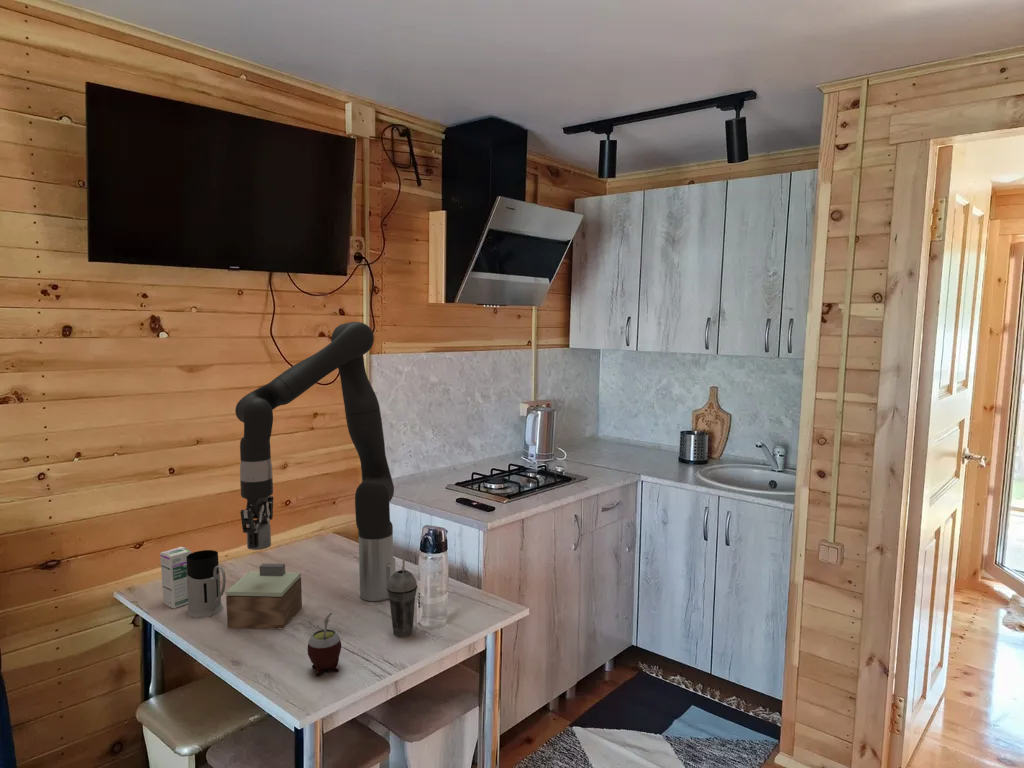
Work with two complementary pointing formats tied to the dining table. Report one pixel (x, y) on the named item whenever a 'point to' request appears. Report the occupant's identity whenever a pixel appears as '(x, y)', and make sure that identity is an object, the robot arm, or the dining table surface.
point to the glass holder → (204, 584)
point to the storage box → (264, 609)
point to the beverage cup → (402, 601)
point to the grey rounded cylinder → (262, 536)
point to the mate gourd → (324, 649)
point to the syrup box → (174, 576)
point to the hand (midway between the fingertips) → (259, 542)
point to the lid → (265, 582)
